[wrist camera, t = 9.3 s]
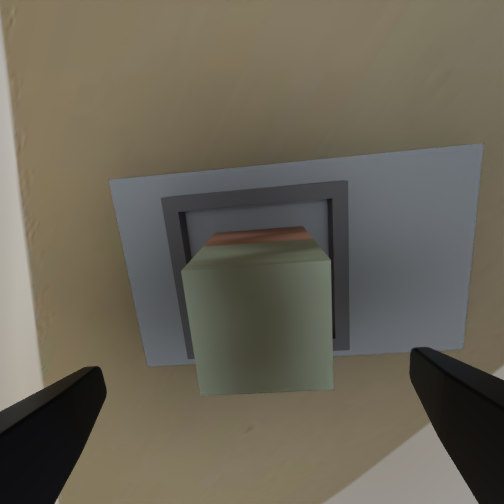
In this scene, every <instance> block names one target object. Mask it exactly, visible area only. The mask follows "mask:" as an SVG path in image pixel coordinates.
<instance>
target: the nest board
mask: <svg viewBox="0 0 504 504" xmlns="http://www.w3.org/2000/svg"><path fill="white" fill-rule="evenodd" d="M483 145H484V143H480V144H470V145H460V146H449V147H439V148H429V149H419V150H409V151H399V152H388V153H378V154H368V155H358V156H348V157H338V158H327V159H317V160H307V161H297V162H287V163H277V164H267V165H256V166H246V167H236V168H226V169H216V170H206V171H195V172H185V173H175V174H165V175H155V176H145V177H134V178H124V179H114V180H109V185H110V190H111V194H112V199H113V204H114V209H115V214H116V218H117V223H118V228H119V233H120V237H121V242H122V247H123V252H124V256H125V261H126V266H127V271H128V276H129V280H130V285H131V290H132V295H133V299H134V304H135V309H136V314H137V319H138V323H139V328H140V333H141V338H142V342H143V347H144V352H145V357H146V362H147V366H148V367H152V366H170V365H188V364H196V363H195V357H194V351H193V344H192V338H191V331H190V325H189V319H188V312H187V306H186V299H185V293H184V287H183V280H182V274H181V271H182V269H183V268H184V267H185V266H186V265H187V264H188V263H189V262H190V261H191V259H192V258H193V257H194V256H195V255H196V254H197V253H198V252H199V250H200V249H201V248H202V247H203V246H204V245H205V244H206V243H207V242H208V240H209V239H210V238H211V237H212V236H213V235H214V234H215V233H220V232H232V231H245V230H257V229H270V228H282V227H295V226H303V227H304V228H305V229H306V230H307V232H308V233H309V234H310V235H311V237H312V238H313V239H314V240H315V241H316V243H317V244H318V245H319V246H320V248H321V249H322V250H323V251H324V252H325V254H326V255H327V256H328V257H329V259H330V260H331V290H332V339H333V356H349V355H367V354H385V353H403V352H411V349H412V348H414V347H430V348H432V349H434V350H436V351H439V350H457V349H463V344H464V334H465V325H466V315H467V305H468V295H469V285H470V275H471V265H472V255H473V245H474V235H475V225H476V215H477V205H478V195H479V185H480V175H481V165H482V155H483Z"/></svg>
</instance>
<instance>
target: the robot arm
mask: <svg viewBox="0 0 504 504" xmlns="http://www.w3.org/2000/svg"><path fill="white" fill-rule="evenodd" d="M409 373H410V379H411V382H412V384H413V386H414V388H415V390H416V393H417V395H418V397H419V399H420V401H421V403H422V405H423V407H424V409H425V411H426V413H427V415H428V417H429V419H430V421H431V423H432V425H433V427H434V429H435V431H436V433H437V435H438V437H439V439H440V441H441V442H442V444H443V446H444V447H445V449H446V451H447V452H448V454H449V455H450V457H451V459H452V460H453V462H454V464H455V465H456V467H457V469H458V470H459V472H460V473H461V475H462V477H463V478H464V480H465V482H466V483H467V485H468V487H469V488H470V490H471V492H472V493H473V495H474V496H475V498H476V500H477V501H478V503H479V504H504V380H502V379H500V378H497V377H495V376H493V375H491V374H488V373H486V372H484V371H481V370H479V369H477V368H475V367H472V366H470V365H468V364H466V363H463V362H461V361H459V360H457V359H454V358H452V357H450V356H448V355H445V354H443V353H441V352H439V351H436V350H434V349H432V348H430V347H414V348H412V349H411V353H410V372H409ZM106 394H107V390H106V385H105V381H104V377H103V374H102V370H101V368H100V367H98V366H92V367H84V368H82V369H80V370H78V371H76V372H74V373H72V374H70V375H69V376H67V377H65V378H63V379H61V380H59V381H57V382H55V383H53V384H52V385H50V386H48V387H46V388H44V389H42V390H40V391H38V392H36V393H35V394H33V395H31V396H29V397H27V398H25V399H23V400H22V401H20V402H18V403H16V404H14V405H12V406H10V407H8V408H6V409H4V410H2V411H1V412H0V504H55V502H56V500H57V498H58V496H59V494H60V492H61V491H62V489H63V487H64V485H65V483H66V481H67V479H68V478H69V476H70V474H71V472H72V470H73V468H74V466H75V465H76V463H77V461H78V459H79V457H80V455H81V453H82V451H83V449H84V447H85V444H86V442H87V440H88V438H89V435H90V433H91V431H92V428H93V426H94V424H95V422H96V419H97V417H98V415H99V412H100V410H101V408H102V405H103V403H104V401H105V398H106Z"/></svg>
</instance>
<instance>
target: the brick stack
mask: <svg viewBox="0 0 504 504" xmlns="http://www.w3.org/2000/svg"><path fill="white" fill-rule="evenodd" d="M181 274H182V280H183V287H184V293H185V299H186V306H187V312H188V319H189V325H190V331H191V338H192V344H193V351H194V357H195V363H196V370H197V376H198V383H199V389H200V395H201V396H206V395H228V394H251V393H273V392H296V391H318V390H334V387H333V339H332V290H331V260H330V259H329V257H328V256H327V255H326V254H325V252H324V251H323V250H322V249H321V248H320V246H319V245H318V244H317V243H316V241H315V240H314V239H313V238H312V237H311V235H310V234H309V233H308V232H307V230H306V229H305V228H304V227H303V226H295V227H282V228H270V229H257V230H245V231H232V232H220V233H215V234H214V235H213V236H212V237H211V238H210V239H209V240H208V242H207V243H206V244H205V245H204V246H203V247H202V248H201V249H200V250H199V252H198V253H197V254H196V255H195V256H194V257H193V258H192V259H191V261H190V262H189V263H188V264H187V265H186V266H185V267H184V268H183V269H182V271H181Z"/></svg>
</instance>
